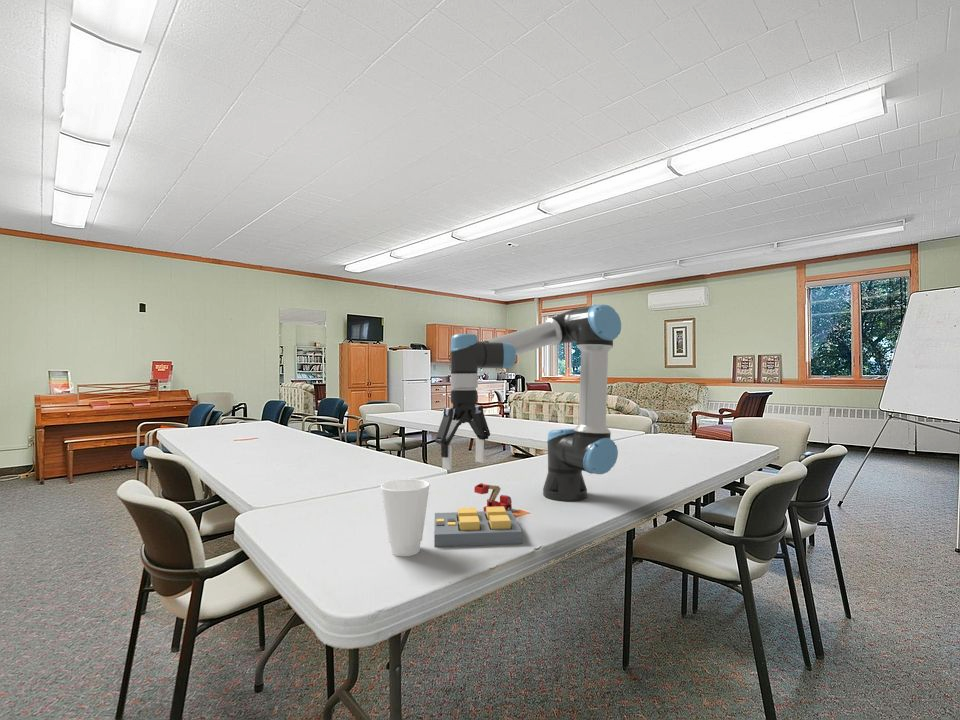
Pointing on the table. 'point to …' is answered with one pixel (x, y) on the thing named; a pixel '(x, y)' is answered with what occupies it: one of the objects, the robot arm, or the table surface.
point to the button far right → (467, 511)
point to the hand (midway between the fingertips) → (464, 465)
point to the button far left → (495, 511)
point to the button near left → (499, 522)
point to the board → (473, 531)
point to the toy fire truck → (494, 496)
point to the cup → (405, 514)
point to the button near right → (469, 523)
